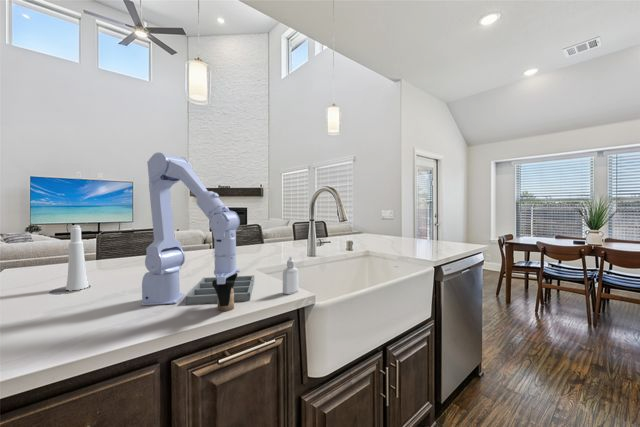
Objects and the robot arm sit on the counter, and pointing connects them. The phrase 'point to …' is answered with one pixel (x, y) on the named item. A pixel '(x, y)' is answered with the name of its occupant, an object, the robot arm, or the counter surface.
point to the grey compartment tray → (208, 294)
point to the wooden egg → (231, 303)
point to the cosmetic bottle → (76, 262)
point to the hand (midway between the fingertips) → (225, 302)
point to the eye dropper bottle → (290, 278)
